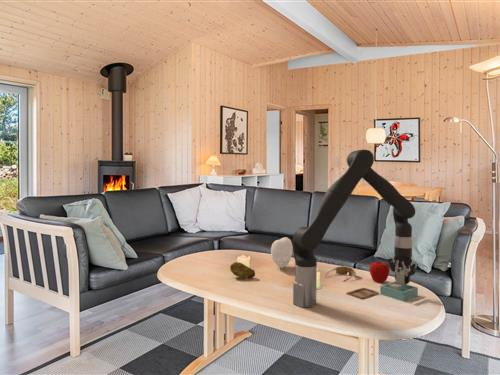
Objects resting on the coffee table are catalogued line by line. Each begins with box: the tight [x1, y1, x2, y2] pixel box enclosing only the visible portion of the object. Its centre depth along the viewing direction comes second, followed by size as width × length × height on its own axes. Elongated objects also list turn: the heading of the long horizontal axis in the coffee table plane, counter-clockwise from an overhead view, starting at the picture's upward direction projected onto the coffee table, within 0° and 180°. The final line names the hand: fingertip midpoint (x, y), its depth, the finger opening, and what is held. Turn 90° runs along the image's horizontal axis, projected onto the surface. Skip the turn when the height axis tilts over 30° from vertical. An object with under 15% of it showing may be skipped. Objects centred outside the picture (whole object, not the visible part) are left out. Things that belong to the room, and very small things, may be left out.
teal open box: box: [379, 280, 419, 302], centre depth 178 cm, size 12×12×4 cm
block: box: [395, 270, 410, 285], centre depth 179 cm, size 4×4×5 cm
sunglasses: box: [324, 265, 357, 282], centre depth 207 cm, size 14×15×5 cm
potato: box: [229, 261, 256, 280], centre depth 206 cm, size 8×13×8 cm, turn 58°
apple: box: [369, 261, 390, 284], centre depth 199 cm, size 10×10×11 cm
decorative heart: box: [270, 236, 293, 271], centre depth 225 cm, size 18×11×17 cm, turn 149°
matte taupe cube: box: [389, 283, 402, 291], centre depth 177 cm, size 4×4×5 cm
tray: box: [345, 287, 380, 300], centre depth 180 cm, size 13×9×1 cm
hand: (402, 282), depth 180 cm, fingers closed on block, 4 cm apart
